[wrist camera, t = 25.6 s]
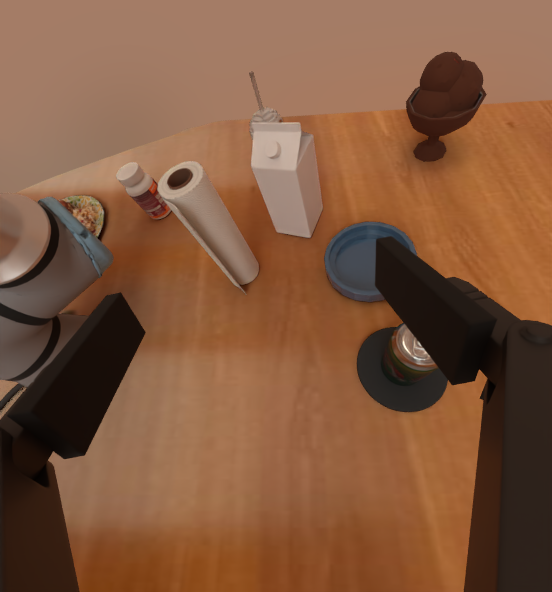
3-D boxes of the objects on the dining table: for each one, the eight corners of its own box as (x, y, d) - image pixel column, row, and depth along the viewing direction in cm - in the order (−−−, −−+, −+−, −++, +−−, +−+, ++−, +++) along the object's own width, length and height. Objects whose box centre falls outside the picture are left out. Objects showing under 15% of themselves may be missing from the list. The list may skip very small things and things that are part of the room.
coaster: (404, 431, 32) (406, 432, 32) (340, 364, 38) (340, 363, 37) (466, 371, 33) (468, 370, 33) (394, 313, 39) (395, 311, 38)
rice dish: (129, 222, 66) (112, 205, 61) (38, 307, 59) (12, 296, 54) (79, 191, 78) (62, 176, 74) (0, 259, 71) (-24, 246, 67)
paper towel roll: (239, 253, 51) (175, 156, 33) (265, 262, 49) (212, 162, 30) (220, 284, 49) (140, 199, 31) (246, 295, 47) (176, 209, 28)
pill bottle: (175, 213, 61) (141, 172, 52) (151, 224, 62) (114, 186, 52) (171, 196, 64) (139, 155, 55) (149, 207, 65) (113, 168, 55)
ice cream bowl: (406, 178, 49) (426, 88, 36) (393, 140, 54) (406, 48, 41) (471, 164, 47) (517, 63, 34) (451, 126, 52) (484, 24, 38)
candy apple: (294, 140, 62) (279, 63, 49) (271, 160, 61) (249, 88, 48) (272, 130, 66) (252, 57, 53) (250, 150, 64) (224, 80, 51)
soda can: (423, 352, 35) (453, 320, 25) (421, 391, 33) (452, 375, 23) (382, 344, 37) (394, 312, 26) (378, 381, 35) (389, 362, 24)
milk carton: (289, 204, 53) (261, 106, 37) (323, 209, 51) (309, 104, 34) (276, 232, 51) (240, 140, 35) (310, 238, 48) (289, 142, 32)
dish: (369, 319, 39) (370, 312, 37) (310, 267, 46) (307, 259, 43) (432, 262, 41) (437, 252, 38) (365, 220, 47) (366, 209, 45)
